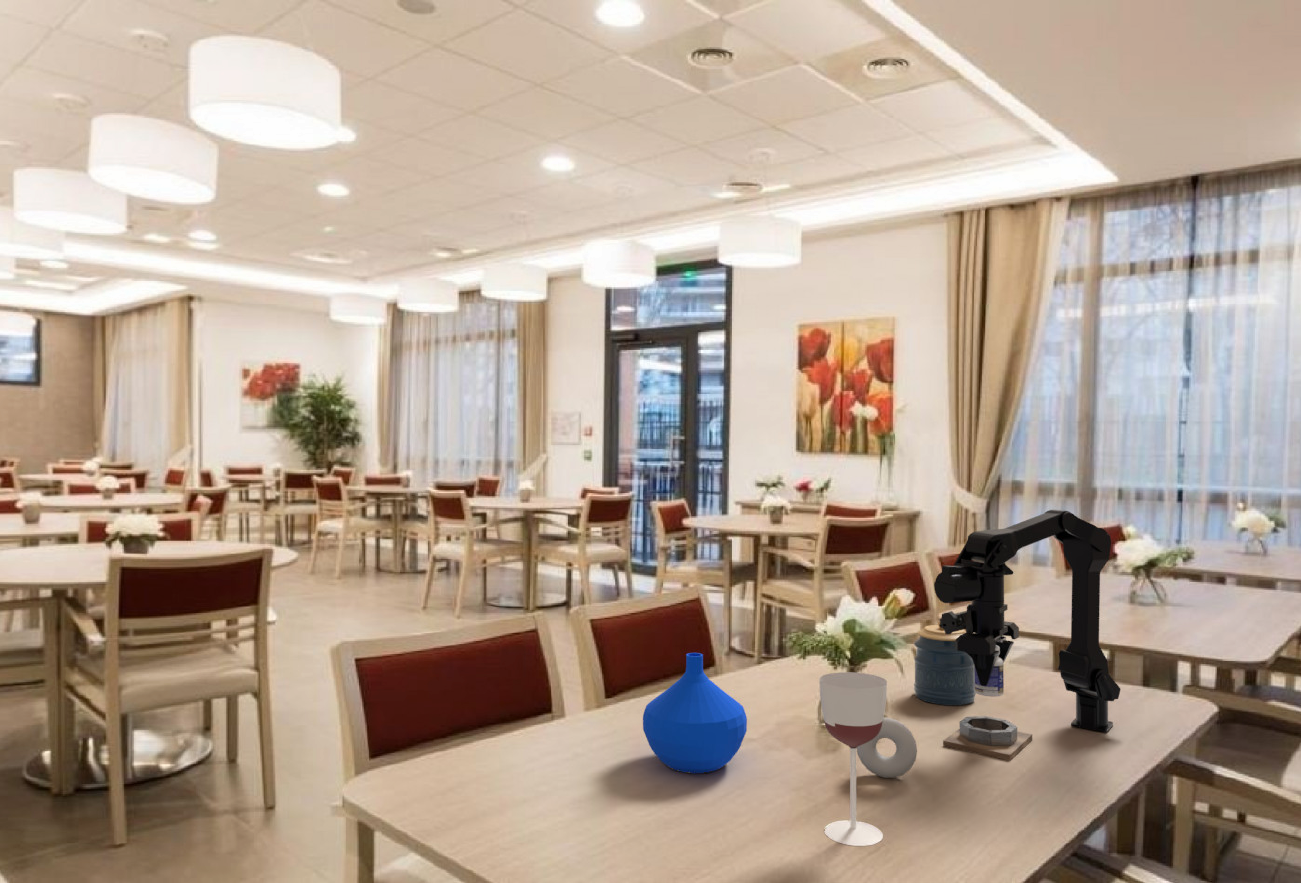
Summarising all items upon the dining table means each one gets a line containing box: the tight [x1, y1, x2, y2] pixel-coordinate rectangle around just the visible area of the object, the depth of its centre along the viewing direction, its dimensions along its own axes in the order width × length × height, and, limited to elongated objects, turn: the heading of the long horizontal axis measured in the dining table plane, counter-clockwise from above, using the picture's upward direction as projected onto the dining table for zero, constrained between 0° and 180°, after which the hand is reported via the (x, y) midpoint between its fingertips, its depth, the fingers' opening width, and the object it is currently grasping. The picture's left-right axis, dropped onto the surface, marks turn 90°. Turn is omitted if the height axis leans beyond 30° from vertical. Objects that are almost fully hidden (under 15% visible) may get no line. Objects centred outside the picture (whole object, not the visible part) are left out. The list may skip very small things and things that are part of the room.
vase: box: [642, 652, 748, 774], centre depth 153 cm, size 18×18×19 cm
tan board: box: [942, 728, 1033, 761], centre depth 163 cm, size 14×12×1 cm
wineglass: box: [819, 671, 888, 847], centre depth 125 cm, size 9×10×22 cm
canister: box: [913, 620, 977, 706], centre depth 192 cm, size 13×13×18 cm
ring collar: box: [959, 715, 1018, 746], centre depth 163 cm, size 9×9×2 cm
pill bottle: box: [974, 645, 1005, 697], centre depth 163 cm, size 5×5×9 cm
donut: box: [856, 716, 918, 779], centre depth 146 cm, size 10×4×10 cm, turn 71°
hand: (988, 682), depth 163 cm, fingers closed on pill bottle, 5 cm apart
